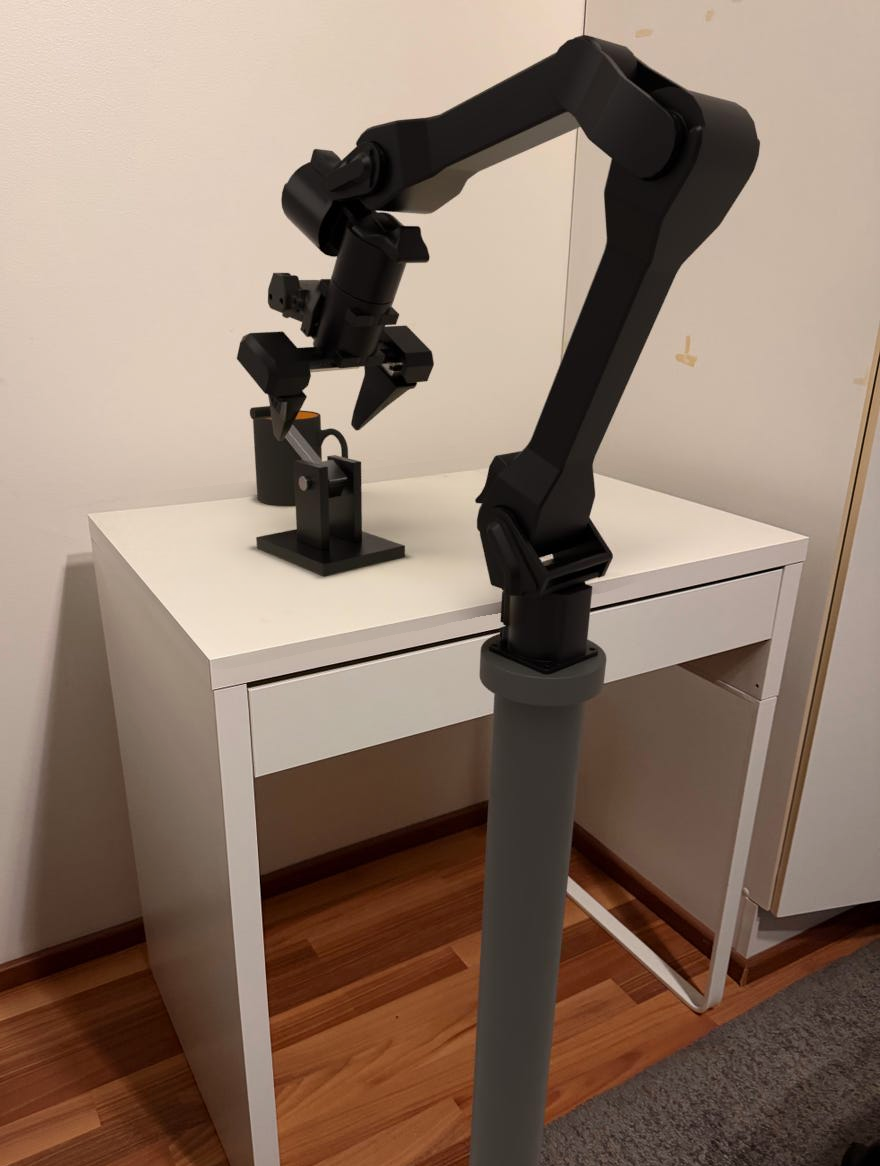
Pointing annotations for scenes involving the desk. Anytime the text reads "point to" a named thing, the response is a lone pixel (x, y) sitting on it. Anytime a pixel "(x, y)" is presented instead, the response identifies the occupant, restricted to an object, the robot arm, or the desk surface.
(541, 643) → the robot arm
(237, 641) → the desk surface
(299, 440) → the tap lever
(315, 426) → the mug
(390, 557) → the black stand
